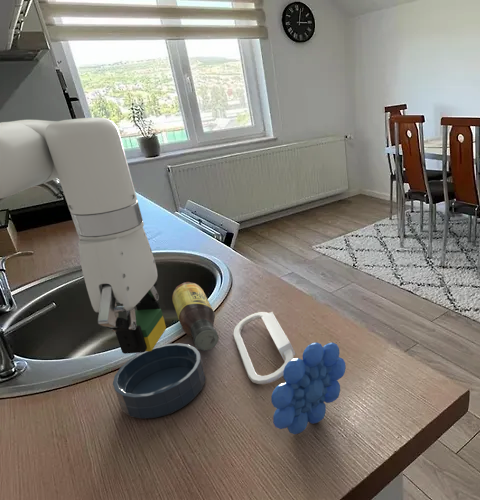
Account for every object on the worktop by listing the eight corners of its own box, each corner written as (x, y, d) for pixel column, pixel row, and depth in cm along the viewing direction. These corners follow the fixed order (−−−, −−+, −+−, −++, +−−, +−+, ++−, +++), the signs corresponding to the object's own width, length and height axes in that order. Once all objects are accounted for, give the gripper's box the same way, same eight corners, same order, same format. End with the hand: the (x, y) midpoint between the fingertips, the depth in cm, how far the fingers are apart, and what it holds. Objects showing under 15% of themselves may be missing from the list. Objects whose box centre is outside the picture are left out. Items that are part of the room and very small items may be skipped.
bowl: (106, 425, 58) (96, 400, 57) (142, 368, 70) (135, 346, 68) (192, 417, 59) (185, 392, 57) (215, 362, 70) (209, 340, 68)
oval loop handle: (234, 334, 80) (225, 319, 78) (272, 313, 82) (264, 299, 80) (259, 400, 63) (248, 383, 61) (306, 372, 65) (297, 355, 63)
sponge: (122, 353, 57) (115, 331, 56) (139, 330, 63) (134, 310, 61) (151, 351, 58) (145, 329, 56) (166, 328, 63) (161, 308, 61)
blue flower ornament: (329, 384, 63) (321, 317, 58) (359, 408, 58) (352, 336, 53) (261, 427, 56) (246, 354, 51) (288, 458, 51) (274, 380, 46)
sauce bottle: (208, 292, 89) (235, 339, 73) (185, 312, 88) (208, 364, 72) (187, 273, 85) (210, 318, 69) (162, 294, 84) (181, 345, 68)
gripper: (112, 202, 61) (143, 309, 68) (35, 247, 45) (86, 380, 52) (163, 199, 61) (189, 305, 68) (104, 243, 45) (146, 376, 52)
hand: (144, 337), depth 60 cm, fingers closed on sponge, 5 cm apart
